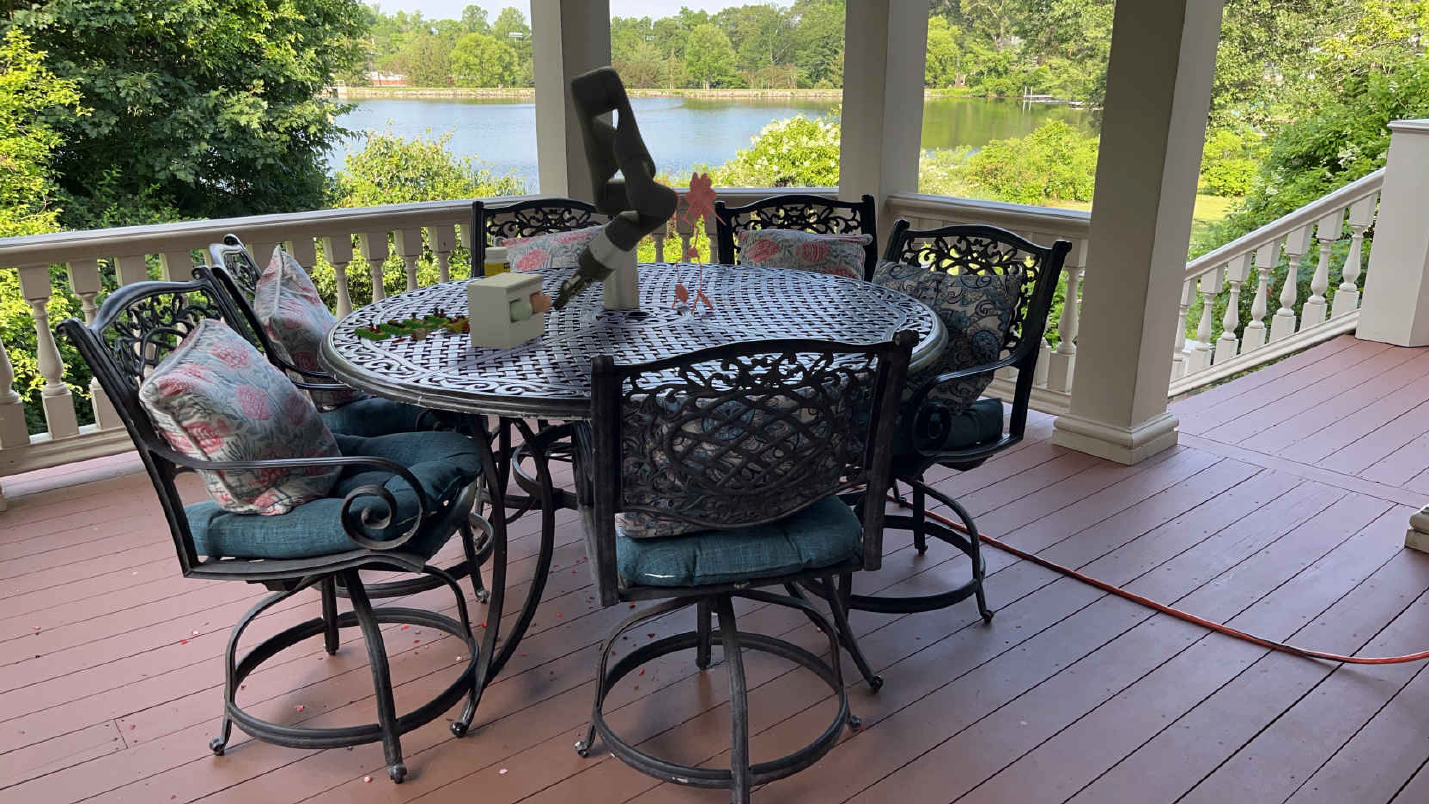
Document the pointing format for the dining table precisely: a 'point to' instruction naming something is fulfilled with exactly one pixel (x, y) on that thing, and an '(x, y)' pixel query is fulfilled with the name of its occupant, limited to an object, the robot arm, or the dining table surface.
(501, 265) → the supplement bottle
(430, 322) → the toy garden set
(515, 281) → the console
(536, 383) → the dining table surface
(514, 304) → the green button
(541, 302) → the terracotta button
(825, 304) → the dining table surface
